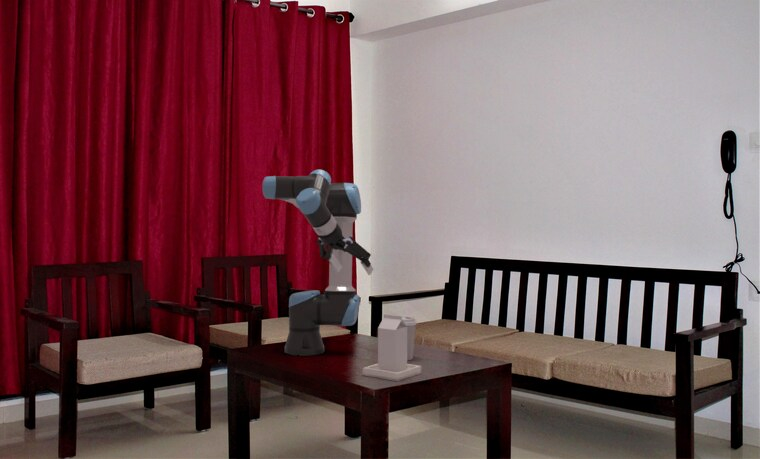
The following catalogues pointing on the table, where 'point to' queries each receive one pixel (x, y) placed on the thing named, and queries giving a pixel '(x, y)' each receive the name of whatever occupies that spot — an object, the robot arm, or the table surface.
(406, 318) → the coffee cup
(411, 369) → the ceramic tray
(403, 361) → the milk carton
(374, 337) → the table surface
